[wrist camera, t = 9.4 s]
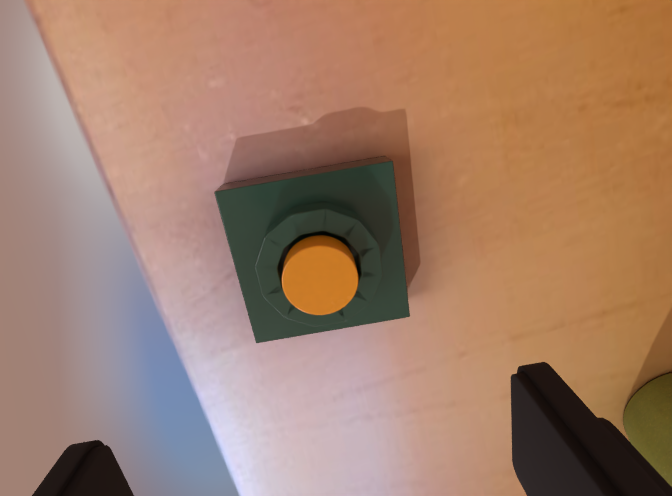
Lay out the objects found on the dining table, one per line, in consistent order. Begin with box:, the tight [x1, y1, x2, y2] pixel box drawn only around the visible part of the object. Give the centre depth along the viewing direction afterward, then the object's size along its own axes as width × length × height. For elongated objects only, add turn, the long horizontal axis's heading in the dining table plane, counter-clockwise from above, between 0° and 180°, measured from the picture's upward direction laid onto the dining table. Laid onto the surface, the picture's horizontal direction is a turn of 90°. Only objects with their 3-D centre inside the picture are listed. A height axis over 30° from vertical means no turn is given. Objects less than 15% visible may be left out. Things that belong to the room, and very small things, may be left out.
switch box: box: [214, 156, 410, 343], centre depth 24 cm, size 10×10×4 cm
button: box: [282, 235, 358, 315], centre depth 21 cm, size 4×4×2 cm
